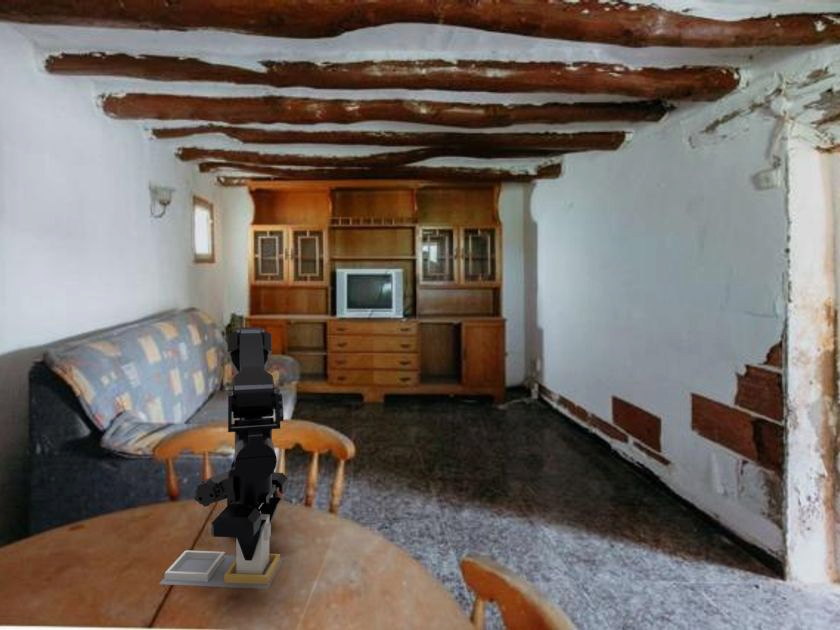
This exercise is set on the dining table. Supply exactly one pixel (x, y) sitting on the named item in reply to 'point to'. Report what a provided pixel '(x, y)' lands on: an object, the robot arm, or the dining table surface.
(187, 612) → the dining table surface
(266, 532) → the plug
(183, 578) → the socket panel
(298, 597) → the dining table surface
